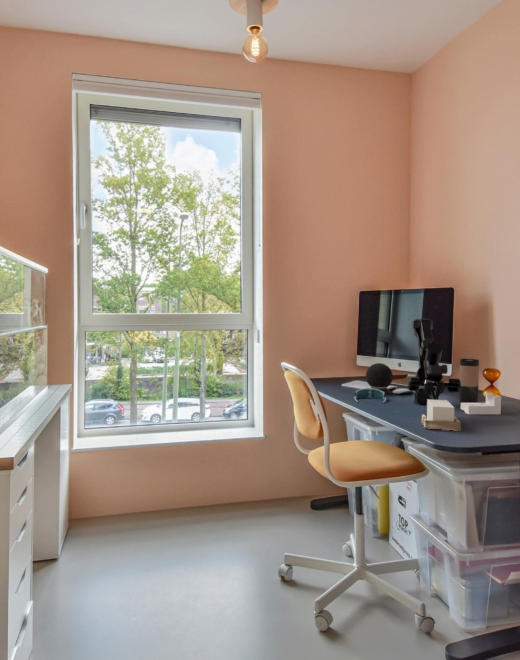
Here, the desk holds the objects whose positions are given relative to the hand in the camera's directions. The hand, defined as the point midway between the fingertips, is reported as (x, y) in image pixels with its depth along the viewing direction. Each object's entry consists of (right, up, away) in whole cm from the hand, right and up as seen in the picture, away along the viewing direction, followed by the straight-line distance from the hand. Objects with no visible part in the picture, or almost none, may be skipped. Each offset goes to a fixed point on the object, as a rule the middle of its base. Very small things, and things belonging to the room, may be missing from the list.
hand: (436, 402), depth 177 cm
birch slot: (-2, -7, -10) cm, 12 cm away
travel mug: (+25, -6, +29) cm, 39 cm away
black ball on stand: (-7, -4, +59) cm, 59 cm away
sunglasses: (-16, -6, +39) cm, 43 cm away
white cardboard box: (-1, -7, -7) cm, 10 cm away
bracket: (+23, -7, +14) cm, 28 cm away
